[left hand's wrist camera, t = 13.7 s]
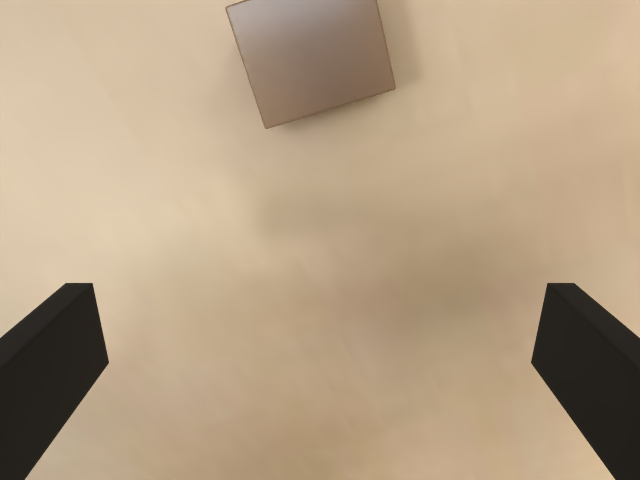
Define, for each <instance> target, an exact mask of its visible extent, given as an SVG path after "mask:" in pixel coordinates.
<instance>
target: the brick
mask: <svg viewBox="0 0 640 480" xmlns="http://www.w3.org/2000/svg"><path fill="white" fill-rule="evenodd" d="M226 12H227V15H228V18H229V21H230V24H231V27H232V30H233V33H234V36H235V39H236V42H237V45H238V48H239V51H240V54H241V57H242V60H243V63H244V66H245V69H246V72H247V75H248V78H249V81H250V84H251V87H252V90H253V93H254V96H255V99H256V102H257V105H258V108H259V111H260V114H261V117H262V120H263V124H264V127H265V128H266V129H269V128H272V127H275V126H278V125H282V124H285V123H288V122H291V121H295V120H298V119H301V118H304V117H308V116H311V115H314V114H317V113H321V112H324V111H327V110H330V109H334V108H337V107H340V106H343V105H347V104H350V103H353V102H356V101H359V100H363V99H366V98H369V97H372V96H376V95H379V94H382V93H385V92H389V91H392V90H395V89H396V86H395V82H394V77H393V72H392V68H391V63H390V59H389V54H388V50H387V45H386V41H385V36H384V32H383V27H382V22H381V18H380V13H379V9H378V4H377V0H244V1H241V2H238V3H235V4H232V5H229V6H226Z"/></svg>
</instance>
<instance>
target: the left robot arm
mask: <svg viewBox="0 0 640 480" xmlns="http://www.w3.org/2000/svg"><path fill="white" fill-rule="evenodd" d="M108 363H109V361H108V356H107V351H106V346H105V341H104V336H103V332H102V327H101V322H100V317H99V312H98V307H97V303H96V298H95V293H94V288H93V283H65V284H64V285H63V286H62V287H61V288H59V289H58V290H57V291H56V292H55V293H54V294H52V295H51V296H50V297H49V298H48V299H46V300H45V301H44V302H43V303H42V304H40V305H39V306H38V307H37V308H36V309H34V310H33V311H32V312H31V313H30V314H28V315H27V316H26V317H25V318H24V319H22V320H21V321H20V322H19V323H18V324H17V325H15V326H14V327H13V328H12V329H11V330H9V331H8V332H7V333H6V334H5V335H3V336H2V337H1V338H0V480H25V478H26V477H27V476H28V474H29V473H30V471H31V470H32V469H33V467H34V466H35V465H36V463H37V462H38V460H39V459H40V458H41V456H42V455H43V453H44V452H45V451H46V449H47V448H48V447H49V445H50V444H51V442H52V441H53V440H54V438H55V437H56V435H57V434H58V433H59V431H60V430H61V428H62V427H63V426H64V424H65V423H66V422H67V420H68V419H69V417H70V416H71V415H72V413H73V412H74V410H75V409H76V408H77V406H78V405H79V404H80V402H81V401H82V399H83V398H84V397H85V395H86V394H87V392H88V391H89V390H90V388H91V387H92V386H93V384H94V383H95V381H96V380H97V379H98V377H99V376H100V374H101V373H102V372H103V370H104V369H105V368H106V366H107V365H108ZM531 363H532V365H533V366H534V368H535V369H536V370H537V372H538V373H539V374H540V376H541V377H542V379H543V380H544V381H545V383H546V384H547V386H548V387H549V388H550V390H551V391H552V392H553V394H554V395H555V397H556V398H557V399H558V401H559V402H560V404H561V405H562V406H563V408H564V409H565V410H566V412H567V413H568V415H569V416H570V417H571V419H572V420H573V422H574V423H575V424H576V426H577V427H578V428H579V430H580V431H581V433H582V434H583V435H584V437H585V438H586V440H587V441H588V442H589V444H590V445H591V447H592V448H593V449H594V451H595V452H596V453H597V455H598V456H599V458H600V459H601V460H602V462H603V463H604V465H605V466H606V467H607V469H608V470H609V471H610V473H611V474H612V476H613V477H614V478H615V480H640V338H639V337H638V336H637V335H635V334H634V333H633V332H632V331H631V330H629V329H628V328H627V327H626V326H625V325H623V324H622V323H621V322H620V321H619V320H618V319H616V318H615V317H614V316H613V315H612V314H610V313H609V312H608V311H607V310H606V309H604V308H603V307H602V306H601V305H600V304H598V303H597V302H596V301H595V300H594V299H592V298H591V297H590V296H589V295H588V294H586V293H585V292H584V291H583V290H582V289H581V288H579V287H578V286H577V285H576V284H575V283H547V288H546V293H545V298H544V303H543V307H542V312H541V317H540V322H539V327H538V332H537V336H536V341H535V346H534V351H533V356H532V361H531Z"/></svg>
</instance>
